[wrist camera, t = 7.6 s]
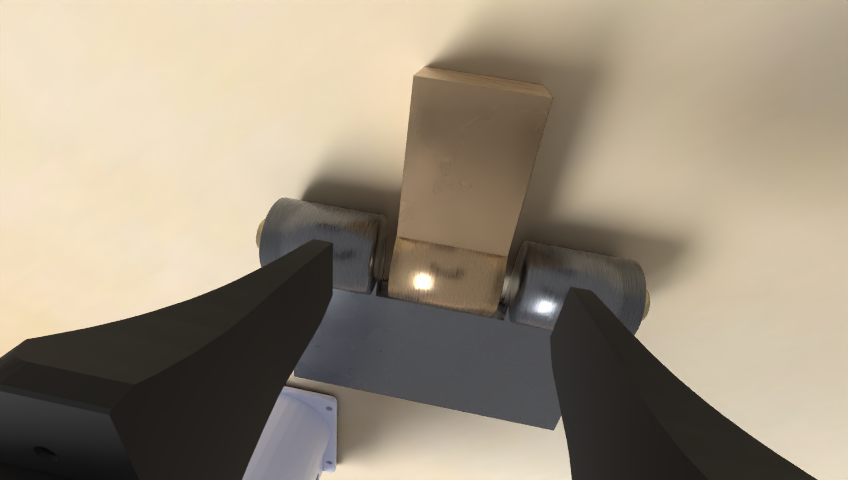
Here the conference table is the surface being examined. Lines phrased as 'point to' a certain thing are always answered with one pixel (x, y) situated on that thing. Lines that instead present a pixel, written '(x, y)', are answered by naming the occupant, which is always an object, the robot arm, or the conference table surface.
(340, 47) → the conference table surface
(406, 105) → the conference table surface
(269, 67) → the conference table surface
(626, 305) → the metal hinge
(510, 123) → the brown boxy piece
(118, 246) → the conference table surface
